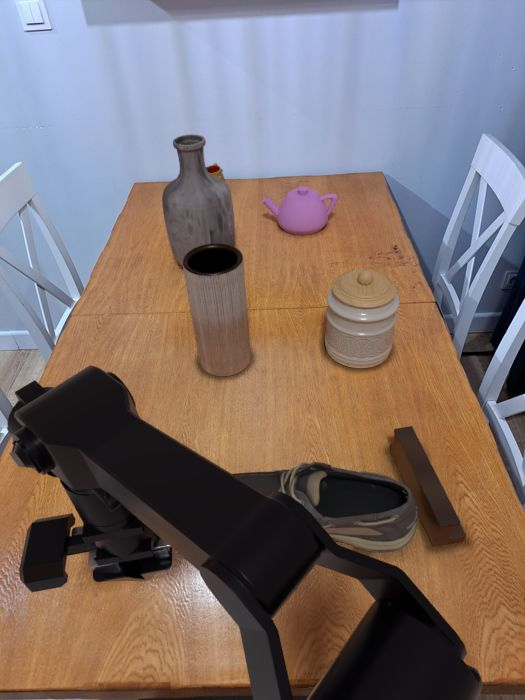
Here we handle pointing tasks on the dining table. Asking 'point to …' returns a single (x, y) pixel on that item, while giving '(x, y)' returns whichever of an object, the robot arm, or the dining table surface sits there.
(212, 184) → the vase
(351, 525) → the boat shoe
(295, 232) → the teapot
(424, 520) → the dark walnut bar
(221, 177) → the mug
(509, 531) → the dining table surface
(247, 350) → the planter
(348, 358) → the jar
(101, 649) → the dining table surface
